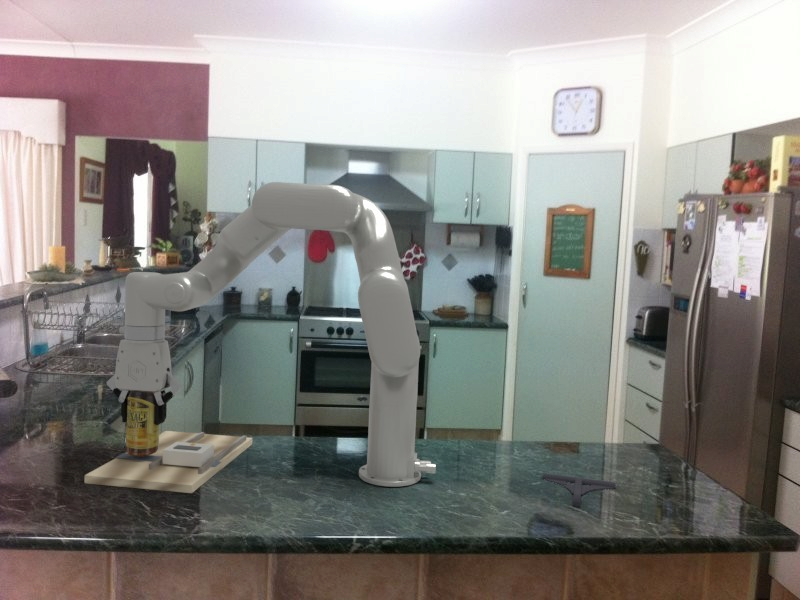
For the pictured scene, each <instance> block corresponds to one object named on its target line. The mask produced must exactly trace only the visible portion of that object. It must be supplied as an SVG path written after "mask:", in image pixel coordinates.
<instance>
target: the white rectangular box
mask: <svg viewBox="0 0 800 600" xmlns="http://www.w3.org/2000/svg"><path fill="white" fill-rule="evenodd" d="M213 457H214V445H211V444H199V443H187V442H175V443H174V444H172V445H170V446H169V447H167V448H165V449H164V450H163V464H169V465H180V466H191V467H201V466H203V465H204V464H205V463H207V462H208V461H209V460H211V459H212V458H213Z"/></svg>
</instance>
